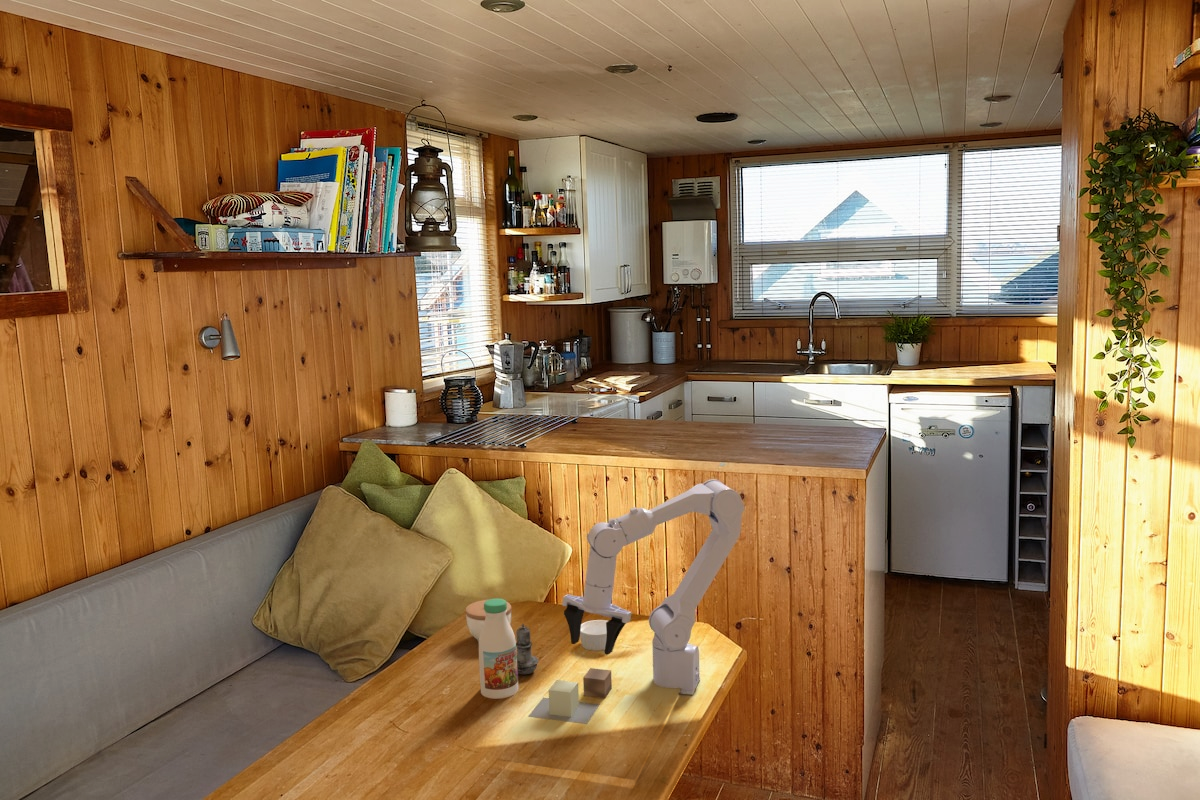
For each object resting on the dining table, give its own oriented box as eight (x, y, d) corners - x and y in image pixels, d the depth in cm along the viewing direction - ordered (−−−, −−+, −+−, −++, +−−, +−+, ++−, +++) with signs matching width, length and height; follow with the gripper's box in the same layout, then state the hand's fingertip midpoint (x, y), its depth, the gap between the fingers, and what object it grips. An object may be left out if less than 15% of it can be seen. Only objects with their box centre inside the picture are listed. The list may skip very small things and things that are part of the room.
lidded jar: (521, 634, 224) (520, 597, 222) (493, 651, 215) (491, 612, 213) (486, 626, 229) (484, 589, 228) (457, 642, 221) (455, 604, 219)
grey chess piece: (535, 683, 198) (532, 629, 196) (508, 681, 199) (505, 628, 197) (542, 671, 204) (539, 618, 202) (516, 669, 205) (513, 617, 203)
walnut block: (611, 693, 193) (611, 670, 192) (605, 703, 188) (604, 679, 188) (591, 690, 194) (590, 668, 193) (584, 700, 190) (583, 677, 189)
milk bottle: (473, 698, 192) (468, 605, 189) (494, 683, 199) (490, 592, 196) (505, 706, 188) (500, 611, 185) (525, 690, 195) (521, 598, 192)
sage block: (578, 706, 185) (578, 682, 184) (571, 717, 181) (570, 692, 180) (557, 703, 186) (556, 679, 186) (549, 714, 182) (548, 690, 182)
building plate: (599, 709, 186) (599, 704, 186) (587, 728, 178) (586, 723, 178) (543, 702, 189) (543, 697, 189) (528, 721, 182) (528, 716, 182)
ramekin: (574, 650, 214) (573, 632, 214) (585, 635, 223) (585, 618, 222) (611, 654, 212) (610, 635, 211) (622, 638, 220) (621, 621, 219)
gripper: (558, 578, 188) (550, 643, 190) (623, 596, 182) (615, 663, 184) (574, 571, 194) (567, 634, 196) (638, 588, 188) (630, 652, 190)
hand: (591, 647), depth 190 cm, fingers open, 7 cm apart
